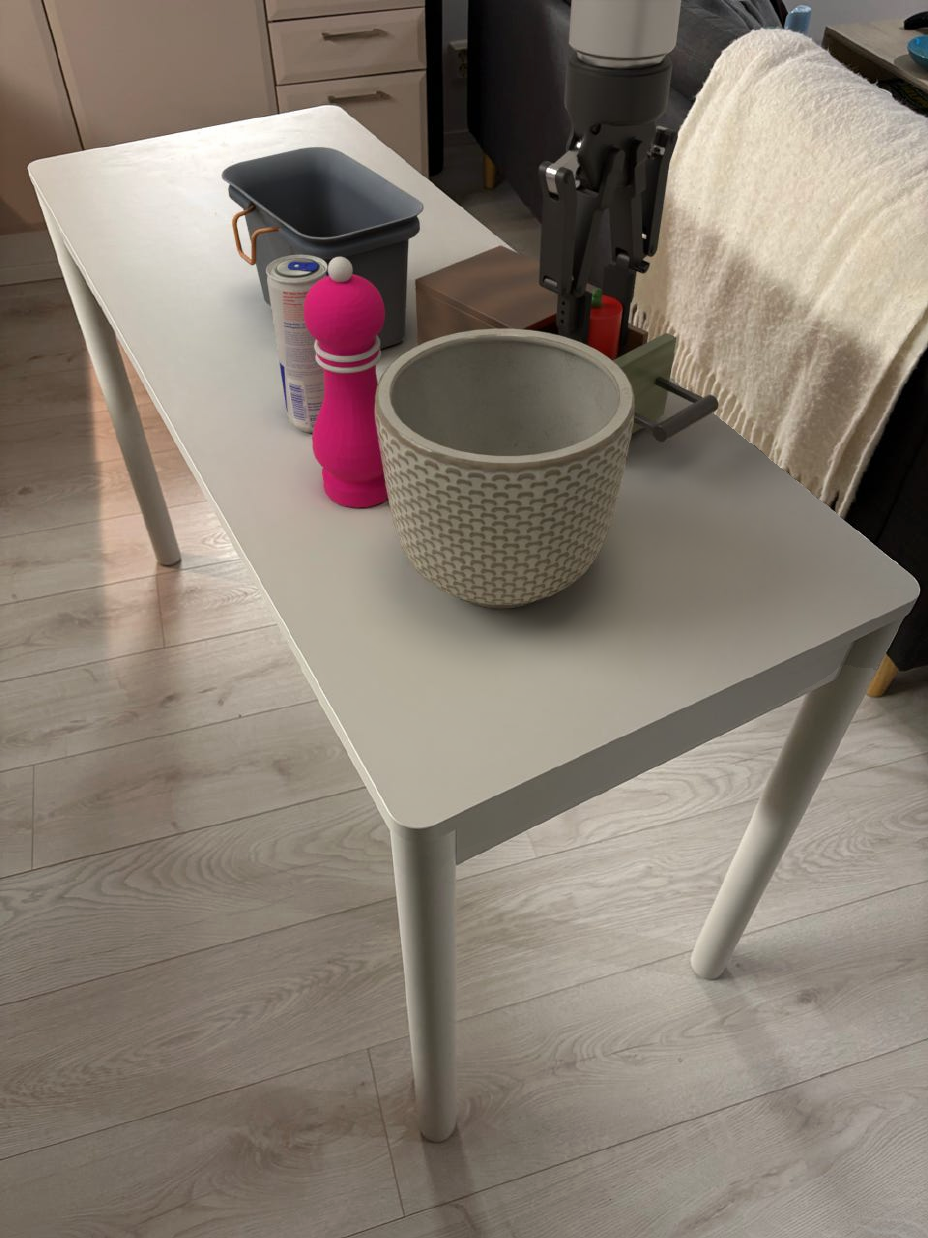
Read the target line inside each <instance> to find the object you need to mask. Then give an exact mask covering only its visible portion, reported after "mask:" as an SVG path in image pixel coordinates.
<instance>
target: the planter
mask: <svg viewBox="0 0 928 1238" xmlns="http://www.w3.org/2000/svg"><path fill="white" fill-rule="evenodd" d="M634 400H635V398H634V394H633V389H632V385H631V383H630V381H629V379H628V378H627V376H626V374H625V373H624V372H623V371H622V370H621V368H620V367H619V366H618V365H617V364H615V363H614V362H613V361H612V360H611V359H609V358H608V357H607V356H605V355H604V354H602V353H600V352H599V351H597V350H596V349H594V348H592V347H589V346H587V345H585V344H583V343H581V342H578V341H575V340H572V339H569V338H566V337H563V336H559V335H555V334H550V333H546V332H539V331H533V330H523V329H482V330H472V331H466V332H459V333H455V334H451V335H447V336H442V337H439V338H436V339H433V340H431V341H428V342H425V343H423V344H421V345H419V346H418V345H417V346H415V347H412V348H411V349H409V350H408V351H406V352H405V353H403V354H401V355H400V356H399V357H397V359H395V360H394V361H393V362H391V364H389V365H388V367H387V368H386V369H385V370H384V372H383V373H382V374H381V376H380V378H379V380H378V385H377V389H376V396H375V420H376V428H377V435H378V441H379V447H380V453H381V459H382V466H383V472H384V478H385V484H386V490H387V494H388V499H387V500H388V503H389V508H390V513H391V517H392V521H393V525H394V528H395V531H396V534H397V537H398V540H399V542H400V545H401V547H402V549H403V551H404V554H405V556H406V557H407V558H408V560H409V561H410V563H411V564H412V566H413V567H414V568H415V570H416V571H417V572H418V573H419V574H420V575H421V576H422V577H423V578H424V579H425V580H426V581H428V582H429V583H431V584H432V585H434V586H435V587H436V588H438V589H440V590H441V591H442V592H443V591H444V592H445V593H447V594H449V595H450V596H454V597H457V598H459V599H462V600H464V601H466V602H468V603H470V604H472V605H476V606H479V607H483V608H487V609H495V610H497V609H498V610H499V609H501V610H503V609H505V610H507V609H514V608H518V607H523V606H526V605H528V604H532V603H533V602H536V601H540V600H542V599H545V598H548V597H551V596H553V595H555V594H557V593H559V592H561V591H563V590H564V589H566V588H567V587H569V586H570V585H572V584H574V583H575V582H576V581H578V580H580V578H581V577H582V576H583V575H584V574H585V573H586V572H587V571H588V570H589V568H590V567H591V565H592V564H593V563H594V561H595V559H596V558H597V557H598V555H599V553H600V551H601V549H602V547H603V544H604V541H605V539H606V536H607V533H608V530H609V528H610V525H611V521H612V519H613V515H614V512H615V508H616V504H617V500H618V497H619V494H620V491H621V486H622V481H623V476H624V472H625V467H626V463H627V457H628V453H629V450H630V445H631V439H632V436H633V435H632V434H633V433H632V429H633V423H634V410H635V405H634Z"/></svg>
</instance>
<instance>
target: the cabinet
mask: <svg viewBox="0 0 928 1238" xmlns="http://www.w3.org/2000/svg"><path fill="white" fill-rule="evenodd" d="M539 270H540V261H537V260H535V259H533V258H530V257H528V256H527V255H524V254H522V253H519V252H517V251H515V250H512V249H511V248H508V247H506V246H504V245H497V246H495V247H493V248H490V249H488V250H485V251H483V252H480V253H478V254H475V255H473V256H470V257H467V258H465V259H463V260H460V261H458V262H455V263H453V264H450V265H448V266H445V267H443V268H440V269H438V270H435V271H432V272H430V273H427V274H424V275H422V276H420V277H417V278H415V279H414V287H415V289H414V291H415V314H416V335H417V336H416V339H417V346H419V345H421V344H423V343H425V342H428V341H431V340H433V339H436V338H439V337H442V336H447V335H451V334H455V333H459V332H466V331H472V330H482V329H523V330H533V331H536V330H539V329H541V328H543V327H545V326H547V325H549V324H551V323H553V322H556V314H557V299H558V294H556V293H554V292H552V291H550V290H547V289H545V288H543V287H541V286H540V285H539ZM572 278H573V276H572ZM594 289H600V290H601V291H602V288H599V287H597V286H595V285H592V284H590V283H588V282H587V286H586V290H585V291H588V292H590V293H591V292H592V291H593V290H594Z"/></svg>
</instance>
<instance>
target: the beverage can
mask: <svg viewBox="0 0 928 1238" xmlns="http://www.w3.org/2000/svg"><path fill="white" fill-rule="evenodd" d="M327 270H328V266H327V264H326V262H325V261H324V260H322V259H320V258H318V257H315V256H310V255H291V256H286V257H282V258H279V259H276V260H274V261H273V262H271V263H270V264H269V265H268V266H267V268H266V273H267V275H268V277H267V283H268V289H269V296H270V303H271V306H270V308H271V315H272V322H273V329H274V336H275V340H276V341H275V342H276V343H275V344H276V348H277V356H278V362H279V369H280V375H281V382H282V389H283V395H284V401H285V408H286V409H285V410H286V414H287V419H288V421H289V422H290V424H291V425H292V426H294V427H295V428H298V429H299V430H300V431H302V432H305V433H310V434H313V430H314V425H315V421H316V419H317V416H318V414H319V411H320V408H321V405H322V402H323V397H324V391H325V387H324V373H323V368H322V367H321V366H320V365H319V364H318V363H317V361H316V358H315V355H316V351H315V348H314V343H315V340H316V339H315V338H314V337H313V336H312V335H311V334H310V332H309V331H308V329H307V327H306V325H305V321H304V311H303V309H304V301H305V298H306V296H307V293H308V292H309V290H310V288H311V287H312V286H313V285H314V284H315V283H316V282H318V281H319V280H321V279H323V278H324V277H327V276H329V274H328V272H327Z"/></svg>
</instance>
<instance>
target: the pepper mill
mask: <svg viewBox="0 0 928 1238" xmlns="http://www.w3.org/2000/svg"><path fill="white" fill-rule="evenodd" d="M352 272H353V269H352V265H351V263H350V262H349V260H347V259H346V258H343V257H336V258H334V259H332V260H331V261H330V263H329V265H328V273H329V276H327V277H324V278H323V279H321V280H319V281H318V282H316V283H315V284H314V285H313V286H312V287H311V288H310V290H309V292H308V293H307V296H306V298H305V301H304V309H303V311H304V321H305V325H306V327H307V329H308V331H309V332H310V334H311V335H312V336H313V337H314V338H315V339H316V340H315V343H314V348H315V351H316V355H315V358H316V361H317V363H318V364H319V365H320V366H321V367H322V368H323V373H324V387H325V391H324V397H323V402H322V405H321V408H320V411H319V414H318V416H317V419H316V421H315V425H314V430H313V433H312V436H311V438H312V452H313V455H314V458H315V460H316V461H317V463H318V465H320V467H322V470H321V474H322V475H321V476H322V485H323V491H324V493H325V495H326V496H327V497H328V499H330V500H331V501H332V502H334V503H335V504H338V505H340V506H344V507H349V508H368V507H373V506H376V505H379V504H381V503H383V502H386V501H387V500H389V499H388V494H387V490H386V484H385V478H384V472H383V466H382V459H381V453H380V447H379V441H378V435H377V428H376V420H375V396H376V389H377V385H378V383H379V381H378V375H377V364H378V363H379V361H380V360H381V357H382V351H381V349H380V348H379V347H380V339H379V337H378V336H377V334H378V333H379V332H380V331H381V329H382V326H383V324H384V320H385V309H384V304H383V300H382V297H381V295H380V293H379V291H378V290H377V288H376V287H375V286H374V285H373V284H372V283H371V282H370V281H368V280H366V279H365V278H363V277H360V276H357V275H354V274H352Z"/></svg>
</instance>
